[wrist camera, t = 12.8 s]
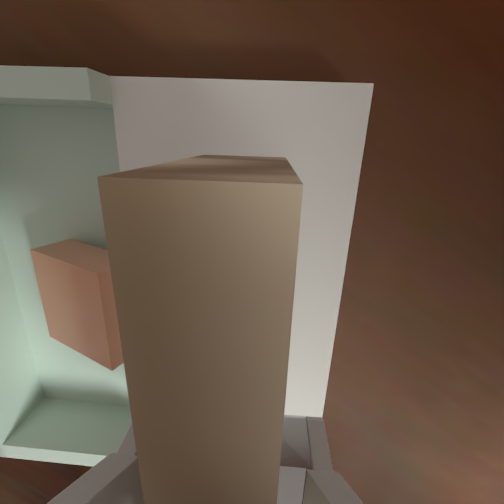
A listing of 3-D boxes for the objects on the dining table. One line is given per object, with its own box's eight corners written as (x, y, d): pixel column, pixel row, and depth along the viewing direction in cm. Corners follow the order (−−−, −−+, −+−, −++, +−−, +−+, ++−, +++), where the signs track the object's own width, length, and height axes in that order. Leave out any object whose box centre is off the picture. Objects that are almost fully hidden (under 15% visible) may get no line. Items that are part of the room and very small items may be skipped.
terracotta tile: (136, 258, 14) (97, 273, 13) (145, 347, 16) (112, 370, 14) (70, 238, 16) (29, 249, 15) (84, 318, 18) (49, 336, 17)
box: (136, 86, 14) (86, 67, 10) (164, 412, 21) (140, 471, 17) (-47, 80, 15) (-157, 61, 11) (39, 400, 22) (-10, 455, 18)
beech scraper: (285, 157, 9) (303, 183, 4) (264, 506, 15) (258, 732, 9) (203, 154, 9) (97, 176, 4) (212, 501, 15) (174, 720, 9)
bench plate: (357, 92, 14) (374, 83, 11) (310, 425, 21) (314, 462, 18) (136, 86, 14) (109, 76, 12) (164, 412, 21) (150, 446, 19)
